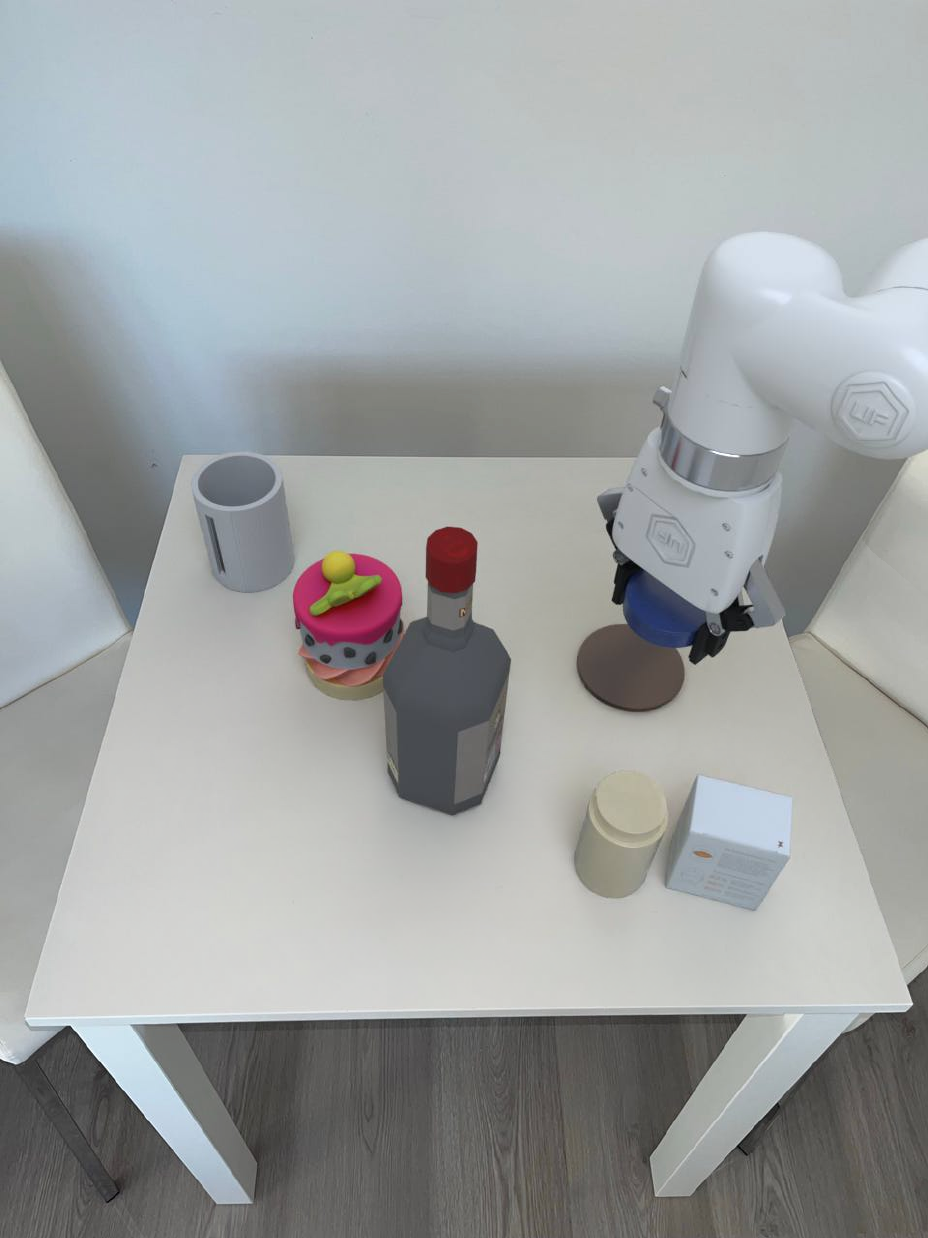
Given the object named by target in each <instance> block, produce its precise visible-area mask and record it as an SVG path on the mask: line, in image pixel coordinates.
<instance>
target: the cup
mask: <svg viewBox="0 0 928 1238" xmlns="http://www.w3.org/2000/svg"><path fill="white" fill-rule="evenodd" d="M190 488H191V493H192V496H193V500H194V506H195V508H196V512H197V517H198V521H199V524H200V528H201V533H202V537H203V540H204V541H203V542H204V545H205V549H206V553H207V557H208V561H209V566H210V569H211V573H212V576H213V577H214V579H215V580H216V581H217V582H218V583H219V584H220V585H221V586H223V587H225V588H227V589H229V590H231V591H235V592H240V593H258V592H263V591H266V590H270V589H272V588H274V587H276V586H278V585H280V584H281V583H282V582H283V581H285V580H286V579H287V578H288V576H289V575H290V574H291V572H292V570H293V568H294V565H295V559H296V558H295V553H294V552H295V551H294V546H293V545H294V544H293V540H292V539H293V538H292V532H291V526H290V518H289V513H288V506H287V498H286V492H285V491H286V490H285V485H284V477H283V472H282V469H281V468H280V466H279V465H278V463H276V462H275V461H274V460H273V459H272V458H270V457H268V456H266V455H264V454H260V453H257V452H253V451H244V450H243V451H238V450H237V451H231V452H226V453H222V454H219V455H216V456H214V457H212V458H209V459H207V461H204V463H202V464H201V465H200V466H199V467H198V468H197V469H196V471H195V472H194V473H193V476H192V478H191V482H190ZM220 557H221V558H222V562H223V567H224V570H225V571H224V570H223V568H222V564H221V560H220Z"/></svg>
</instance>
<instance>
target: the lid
mask: <svg viewBox="0 0 928 1238" xmlns="http://www.w3.org/2000/svg"><path fill="white" fill-rule="evenodd" d="M622 614H623V617H624V621H625V622H626V624H628V625H629V627H630V628H631V629H632V630H633V631H634V632H635V633H636V634H637V635H638V636H640V637H641V638H643V639H644V640H646V641H648V642H650V643H652V644H655V645H658V646H662V647H667V648H676V649H682V648H688V647H692V645H693V642H694V640H695V637H696V634H697V631H698V629H699V627H700V626H701V625H702V624H703V623H705V622H706V621H707V620H706V614H705V611H703V610H701V609H699V608H698V607H696V606H694V605H693V604H691V603H690V602H688V601H687V600H685V599H684V598H683V597H681V596H680V595H678V594H677V593H676V592H674V591H673V590H671V589H670V588H669V587H667V586H666V585H665V584H663V583H662V582H660V581H659V580H658V579H656V578H655V577H654V576H652V575H651V574H650V573H648V572H647V571H645V570H644V569H643V568H641V569H640V570H638V571H637V572H636V573H634V574H633V575H632V577H631V578H630V580H629V581H628V584H627V587H626V591H625V596H624V600H623V604H622Z"/></svg>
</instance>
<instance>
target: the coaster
mask: <svg viewBox="0 0 928 1238" xmlns="http://www.w3.org/2000/svg"><path fill="white" fill-rule="evenodd" d="M677 649H678V648H667V647H662V646H658V645H655V644H652V643H650V642H648V641H646V640H644V639H643V638H641V637H640V636H638V635H637V634H636V633H635V632H634V631H633V630H632V629H631V628H630V627H629V625H628V624H627V623H618V624H617V623H615V624H610V625H607V626H603V627H601V628H599V629H596V630H595V631H593V632H591V634H589V635H588V636H587V637H586V638H585V639H584V640H583V642H582V643H581V645H580V647H579V650H578V654H577V658H576V670H577V674H578V676H579V679H580V681H581V683H582V684H583V686H584V688H586V690H587V692H589V693H590V694H591V695H592V696H593V697H594V698H595V699H597V700H598V701H600V702H601V703H603V704H605V705H607V706H609V707H612V708H614V709H616V710H620V711H624V712H631V713H644V712H651V711H655V710H658V709H661V708H662V707H665V706H666V705H668V704H669V703H671V702H672V701H673V700H674V699H675V698H676V697H677V696H678V695H679V693H680V691H681V689H682V687H683V684H684V680H685V672H686V670H685V664H684V660H683V658H682V656H681V654H680V651H678V650H677Z"/></svg>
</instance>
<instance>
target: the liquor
mask: <svg viewBox="0 0 928 1238" xmlns="http://www.w3.org/2000/svg"><path fill="white" fill-rule="evenodd" d="M426 540H427V541H426V544H425V578H426V581H427V597H426V598H427V600H426V616H425V617H422V618H418V619H416V620H413V621H410V623H409V624H408V626H407V628H406V629H405V631H404V636H403V638H402V640H401V641H400V643H399V645H398V647H397V649H396V651H395V653H394V655H393V657H392V659H391V660H390V662H389V664H388V666H387V668H386V670H385V672H384V674H383V688H384V691H383V705H384V708H383V709H384V726H385V740H386V742H385V745H386V763H387V764H386V765H387V774H388V776H389V778H390V780H391V783H392V784H393V786H394V789H395V791H396V793H397V796H398V797H399V798H401V799H404V800H407V801H410V802H412V803H415V804H418V805H421V806H425V807H427V808H430V809H433V810H435V811H439V812H441V813H445V814H448V815H450V816H455V815H458V814H460V813H462V812H465V811H468V810H470V809H472V808H475V807H478V806H481V805H482V803H483V800H484V797H485V795H486V792H487V790H488V787H489V785H490V782H491V780H492V777H493V775H494V772H495V770H496V767H497V764H498V762H499V760H500V757H501V755H500V754H501V749H502V748H501V747H502V739H503V731H504V723H505V713H506V705H507V699H508V690H509V680H510V674H511V664H512V658H511V657H510V654H509V653H508V650H507V649H506V647H505V646H504V644H503V643H502V641H501V639H500V637H499V636H498V635H497V633H496V631H495V630H494V628H490V627H488V626H486V625H484V624H480V623H478V622H475V621H474V620H473V598H474V597H473V596H474V583H475V582H476V577H477V562H478V544H479V542H478V540H477V539H476V537H475V535H474V534H473V533H472V532H470V531H468V530H467V529H466V528H465V529H464V528H463V527H456V526H444V527H442V528H438V529H435V530H434V531H433V532H432V533H431V534H430V535H429V536H428V537H427V538H426Z"/></svg>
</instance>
